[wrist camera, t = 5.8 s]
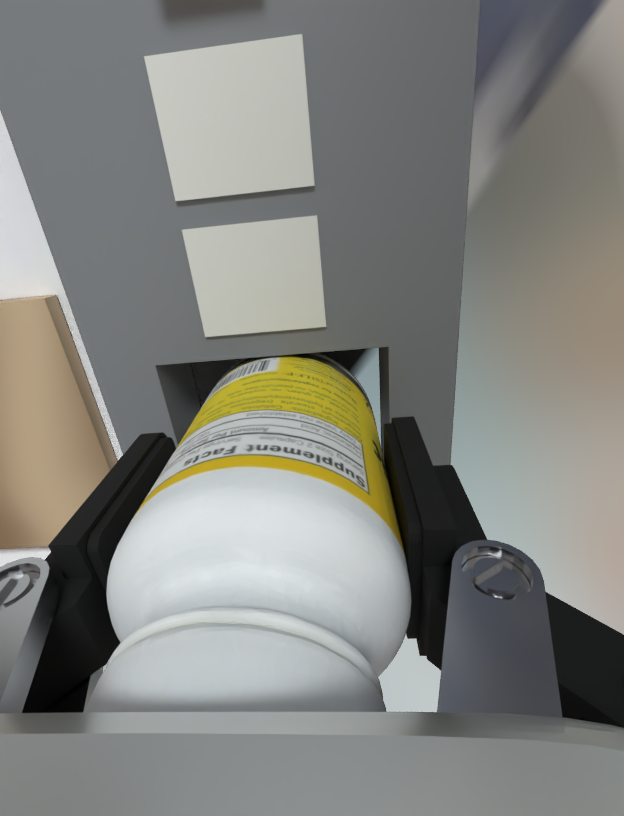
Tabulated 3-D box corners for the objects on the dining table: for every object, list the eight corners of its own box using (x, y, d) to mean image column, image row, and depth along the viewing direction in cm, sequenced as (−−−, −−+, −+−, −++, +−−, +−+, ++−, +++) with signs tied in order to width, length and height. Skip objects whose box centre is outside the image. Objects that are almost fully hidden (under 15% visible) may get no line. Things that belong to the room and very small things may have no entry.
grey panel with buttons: (453, -145, 8) (513, -318, 6) (428, 518, 16) (448, 582, 14) (8, -68, 9) (-130, -188, 6) (188, 529, 17) (161, 592, 14)
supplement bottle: (342, 502, 15) (356, 931, 6) (197, 461, 14) (-14, 868, 6) (401, 372, 12) (564, 775, 4) (229, 317, 12) (-55, 638, 3)
